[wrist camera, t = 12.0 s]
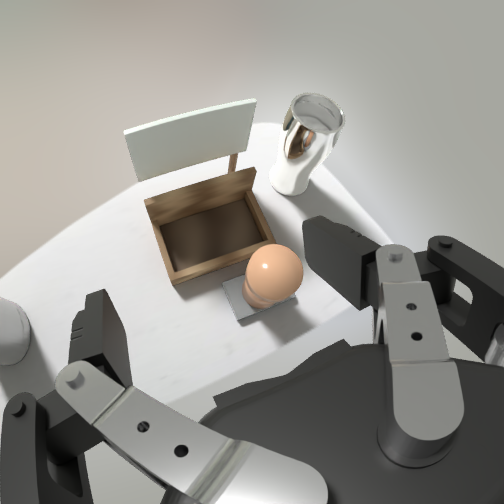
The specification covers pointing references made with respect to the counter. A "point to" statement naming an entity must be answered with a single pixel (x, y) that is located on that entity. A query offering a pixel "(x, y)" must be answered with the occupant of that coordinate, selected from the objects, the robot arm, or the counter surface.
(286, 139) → the beer glass
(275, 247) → the peach mushroom shaped stopper
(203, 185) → the open wooden box
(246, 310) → the tile
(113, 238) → the counter surface
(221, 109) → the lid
